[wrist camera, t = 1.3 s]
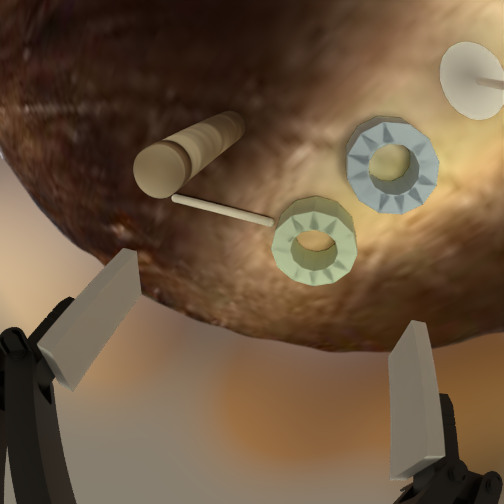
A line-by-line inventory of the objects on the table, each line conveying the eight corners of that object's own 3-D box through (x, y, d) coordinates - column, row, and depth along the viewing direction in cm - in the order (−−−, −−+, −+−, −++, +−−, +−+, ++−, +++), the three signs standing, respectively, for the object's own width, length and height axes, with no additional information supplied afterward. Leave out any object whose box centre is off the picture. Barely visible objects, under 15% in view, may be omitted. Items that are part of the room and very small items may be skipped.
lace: (174, 192, 38) (170, 195, 37) (276, 218, 37) (274, 221, 36) (173, 199, 39) (170, 202, 38) (274, 225, 37) (272, 229, 37)
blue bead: (345, 114, 29) (347, 119, 25) (430, 120, 26) (442, 128, 23) (345, 195, 33) (346, 211, 30) (422, 200, 31) (431, 216, 28)
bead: (287, 187, 35) (282, 202, 31) (365, 210, 34) (368, 226, 30) (271, 253, 40) (265, 272, 36) (340, 273, 39) (340, 293, 36)
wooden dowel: (216, 107, 31) (133, 142, 18) (249, 113, 31) (183, 151, 18) (212, 138, 33) (132, 192, 20) (243, 144, 33) (179, 204, 20)
